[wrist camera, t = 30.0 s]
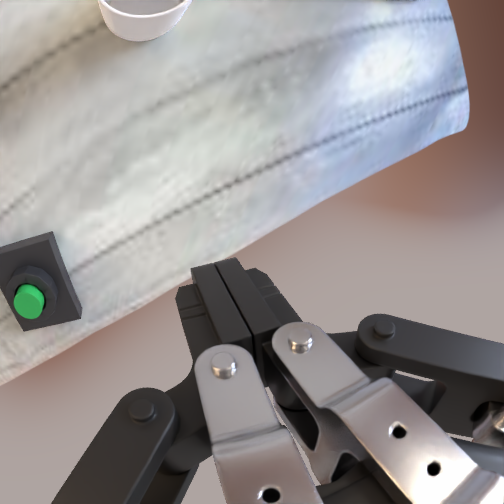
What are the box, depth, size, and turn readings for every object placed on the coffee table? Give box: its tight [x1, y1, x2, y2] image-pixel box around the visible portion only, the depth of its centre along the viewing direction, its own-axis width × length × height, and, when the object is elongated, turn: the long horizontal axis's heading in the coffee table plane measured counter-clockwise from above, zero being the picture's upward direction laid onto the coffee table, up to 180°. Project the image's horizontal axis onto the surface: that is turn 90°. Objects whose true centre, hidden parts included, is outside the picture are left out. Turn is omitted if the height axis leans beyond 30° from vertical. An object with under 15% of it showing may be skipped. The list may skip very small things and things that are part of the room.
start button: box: [14, 284, 44, 319], centre depth 28 cm, size 4×4×2 cm
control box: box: [0, 232, 82, 331], centre depth 30 cm, size 11×9×4 cm
